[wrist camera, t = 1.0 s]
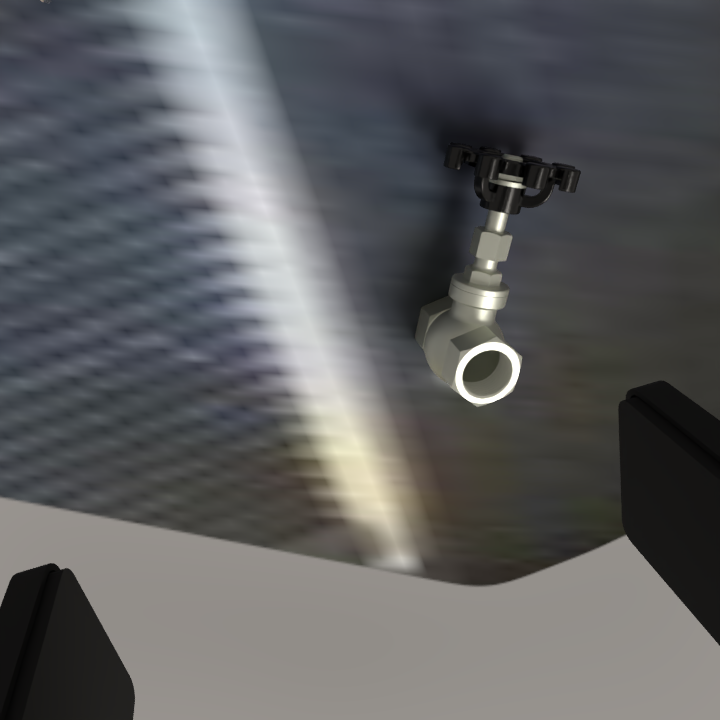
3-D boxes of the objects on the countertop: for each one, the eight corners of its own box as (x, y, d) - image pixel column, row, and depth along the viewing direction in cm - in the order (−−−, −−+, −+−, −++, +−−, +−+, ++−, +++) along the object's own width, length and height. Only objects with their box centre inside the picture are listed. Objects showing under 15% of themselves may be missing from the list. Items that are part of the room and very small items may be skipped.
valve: (487, 362, 40) (543, 156, 36) (536, 415, 34) (610, 177, 30) (382, 353, 38) (427, 136, 34) (414, 407, 32) (474, 154, 28)
